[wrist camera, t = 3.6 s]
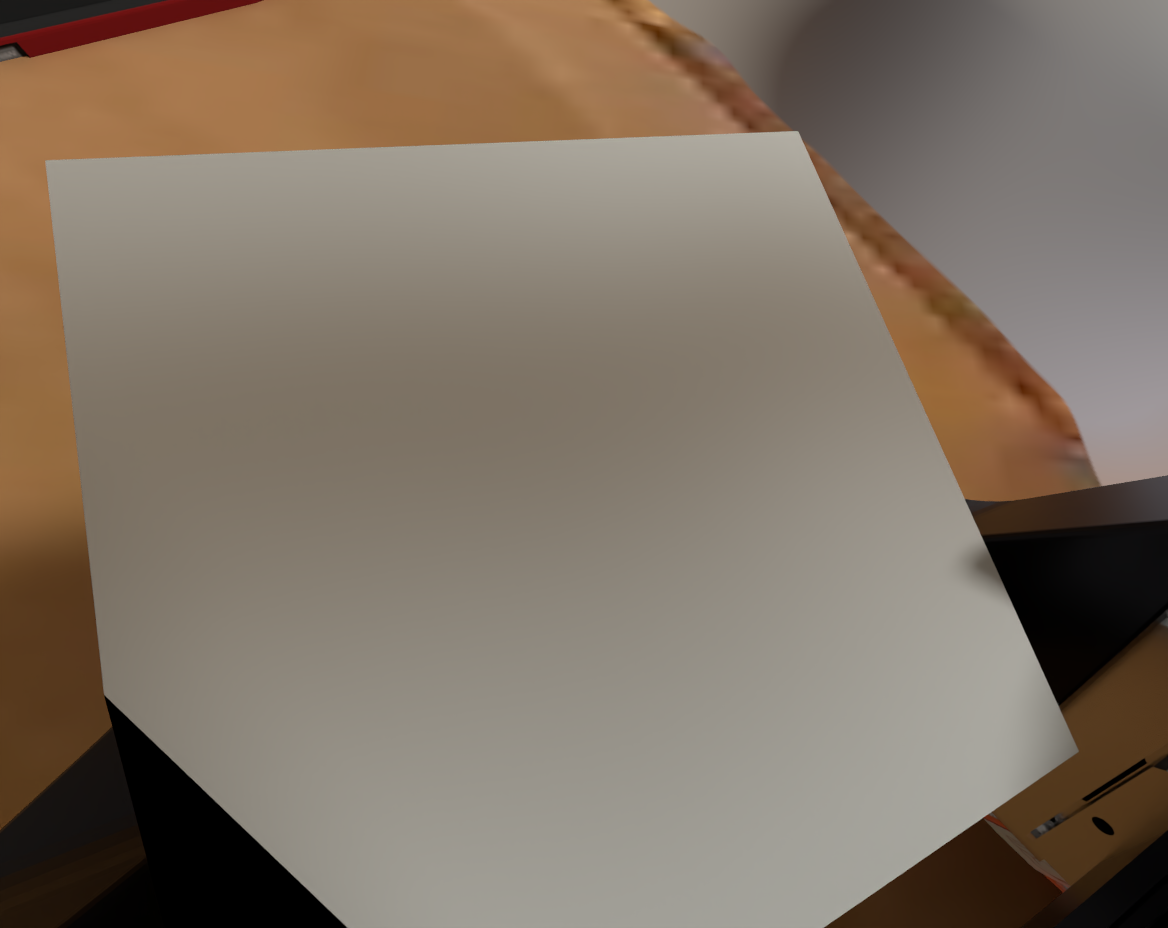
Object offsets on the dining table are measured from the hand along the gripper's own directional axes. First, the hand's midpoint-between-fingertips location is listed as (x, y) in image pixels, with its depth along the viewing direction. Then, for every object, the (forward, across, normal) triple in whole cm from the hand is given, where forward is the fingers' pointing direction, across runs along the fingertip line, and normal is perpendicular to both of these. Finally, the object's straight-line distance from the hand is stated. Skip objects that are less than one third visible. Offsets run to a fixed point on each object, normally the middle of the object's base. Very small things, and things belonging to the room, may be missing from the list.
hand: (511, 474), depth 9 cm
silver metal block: (+4, 0, +6) cm, 7 cm away
